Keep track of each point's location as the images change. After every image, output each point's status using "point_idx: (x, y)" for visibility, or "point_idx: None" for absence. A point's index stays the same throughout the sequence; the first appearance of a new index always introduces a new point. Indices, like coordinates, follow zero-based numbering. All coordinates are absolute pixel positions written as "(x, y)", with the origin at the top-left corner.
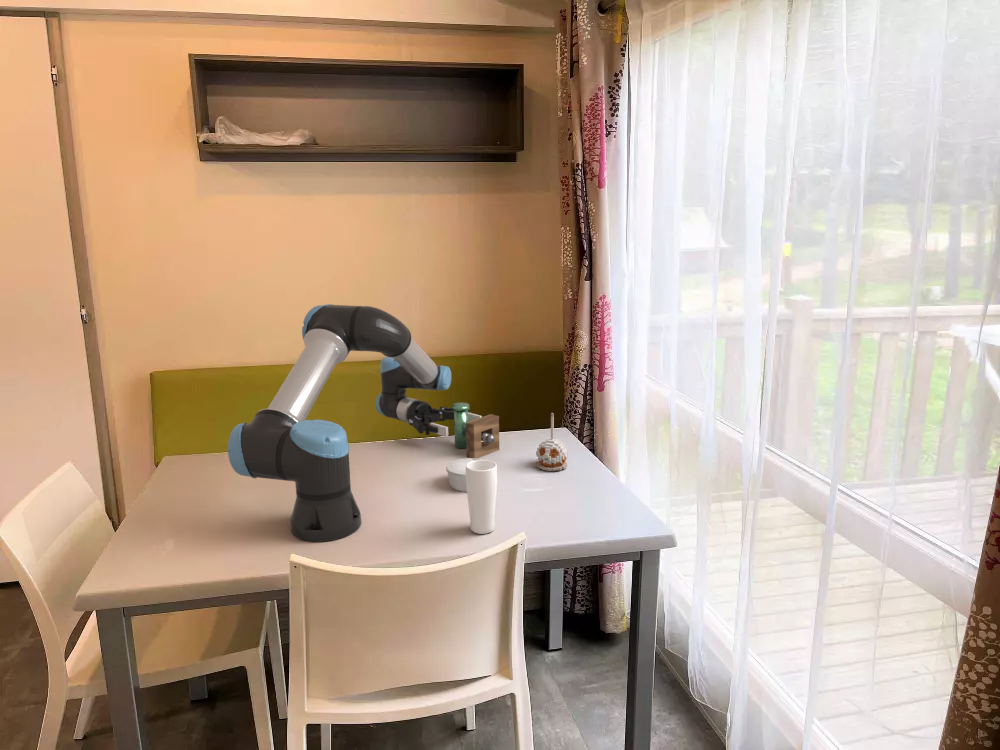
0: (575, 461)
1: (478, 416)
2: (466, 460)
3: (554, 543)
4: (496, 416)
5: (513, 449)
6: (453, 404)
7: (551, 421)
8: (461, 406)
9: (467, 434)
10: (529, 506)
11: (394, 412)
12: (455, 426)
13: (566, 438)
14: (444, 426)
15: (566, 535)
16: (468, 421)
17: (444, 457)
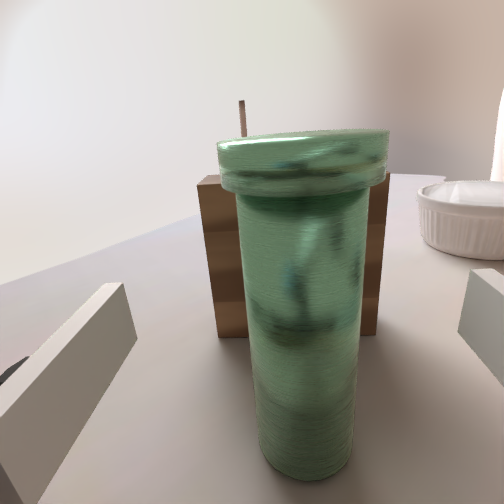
0: (199, 225)
1: (118, 291)
2: (478, 200)
3: (427, 175)
4: (216, 175)
5: (195, 294)
6: (348, 138)
7: (245, 121)
8: (325, 132)
9: (382, 232)
10: (401, 197)
11: None
12: (360, 317)
13: (46, 271)
14: (498, 285)
15: (404, 177)
16: (69, 441)
17: (492, 392)
